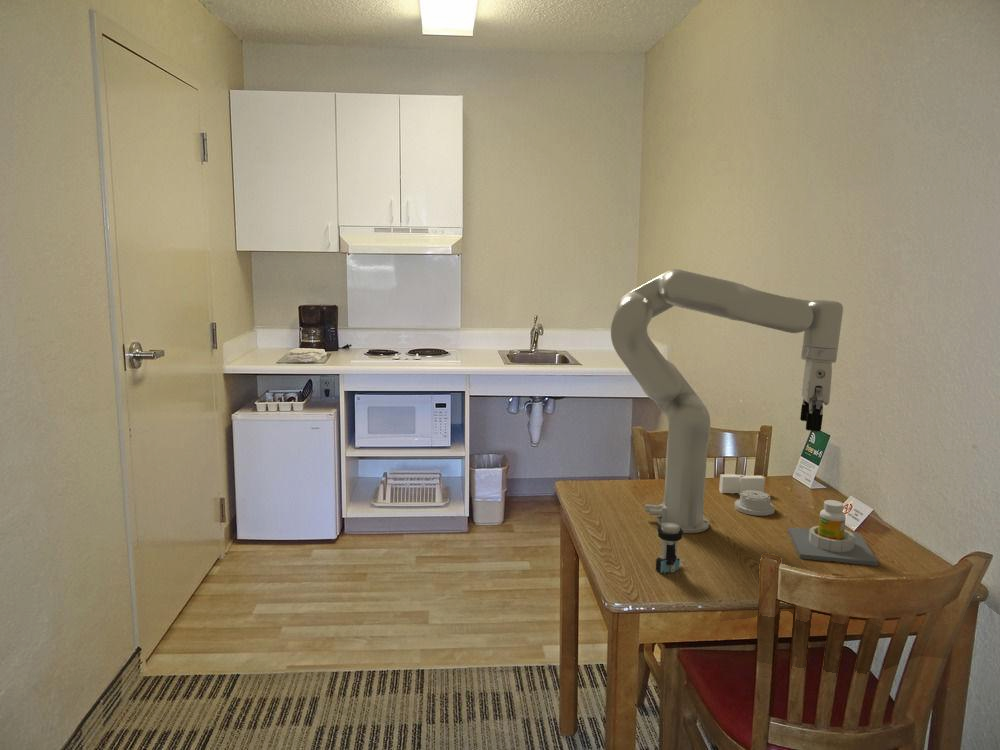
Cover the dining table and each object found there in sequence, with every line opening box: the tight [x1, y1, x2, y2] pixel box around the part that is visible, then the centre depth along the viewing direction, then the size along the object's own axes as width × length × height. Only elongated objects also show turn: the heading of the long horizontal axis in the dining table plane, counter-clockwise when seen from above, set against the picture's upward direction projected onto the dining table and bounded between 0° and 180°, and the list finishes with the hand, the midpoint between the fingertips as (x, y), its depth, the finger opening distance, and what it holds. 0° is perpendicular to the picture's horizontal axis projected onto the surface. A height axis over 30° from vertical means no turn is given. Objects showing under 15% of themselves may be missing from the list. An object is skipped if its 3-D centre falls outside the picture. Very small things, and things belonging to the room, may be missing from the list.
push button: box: [655, 523, 684, 574], centre depth 153 cm, size 7×5×10 cm
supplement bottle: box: [818, 499, 846, 540], centre depth 165 cm, size 5×5×10 cm
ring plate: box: [787, 525, 879, 567], centre depth 166 cm, size 16×16×4 cm
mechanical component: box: [734, 490, 776, 517], centre depth 190 cm, size 10×4×10 cm
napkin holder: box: [718, 473, 766, 495], centre depth 203 cm, size 15×11×6 cm
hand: (810, 425), depth 170 cm, fingers open, 9 cm apart
